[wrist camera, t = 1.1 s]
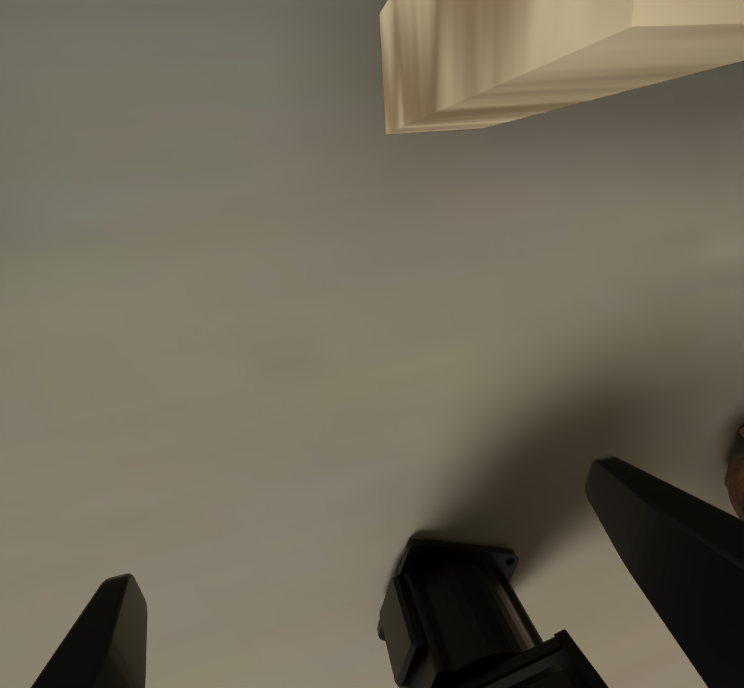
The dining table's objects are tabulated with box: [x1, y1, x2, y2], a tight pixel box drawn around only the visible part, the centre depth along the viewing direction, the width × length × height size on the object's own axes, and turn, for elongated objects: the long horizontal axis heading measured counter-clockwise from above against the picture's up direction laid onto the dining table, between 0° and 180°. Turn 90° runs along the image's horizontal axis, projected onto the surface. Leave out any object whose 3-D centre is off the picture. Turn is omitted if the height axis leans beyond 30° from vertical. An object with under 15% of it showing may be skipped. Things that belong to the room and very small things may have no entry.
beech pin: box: [379, 0, 744, 134], centre depth 12 cm, size 4×4×14 cm
